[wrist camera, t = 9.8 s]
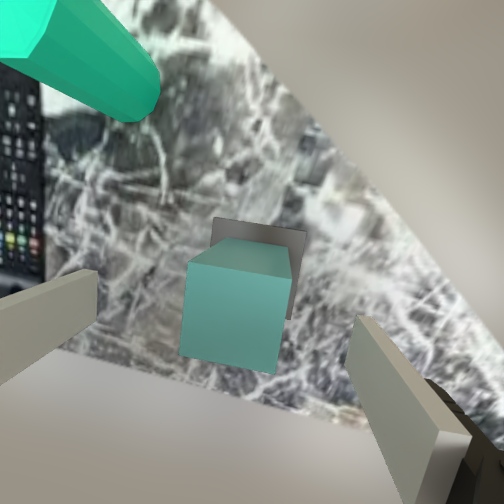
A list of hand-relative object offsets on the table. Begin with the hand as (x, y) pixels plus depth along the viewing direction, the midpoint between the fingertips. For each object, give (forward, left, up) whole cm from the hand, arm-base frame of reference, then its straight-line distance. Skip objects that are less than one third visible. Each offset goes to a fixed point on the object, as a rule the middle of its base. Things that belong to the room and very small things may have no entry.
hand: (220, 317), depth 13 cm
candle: (-12, +14, -11) cm, 21 cm away
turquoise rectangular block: (+1, 0, -10) cm, 10 cm away
